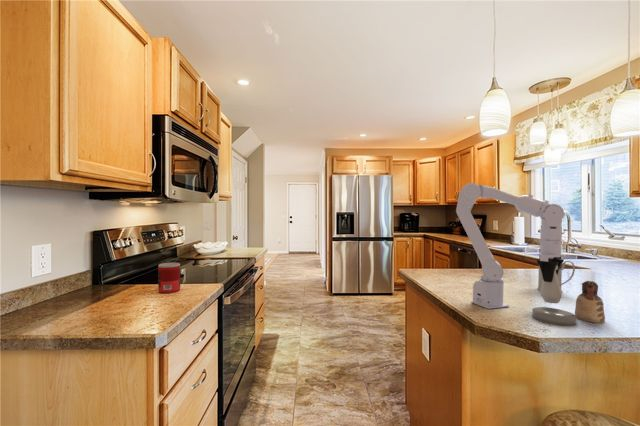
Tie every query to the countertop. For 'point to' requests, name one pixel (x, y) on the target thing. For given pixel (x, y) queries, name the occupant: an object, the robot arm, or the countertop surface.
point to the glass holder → (540, 277)
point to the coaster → (554, 316)
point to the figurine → (590, 304)
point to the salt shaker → (551, 290)
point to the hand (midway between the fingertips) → (549, 280)
